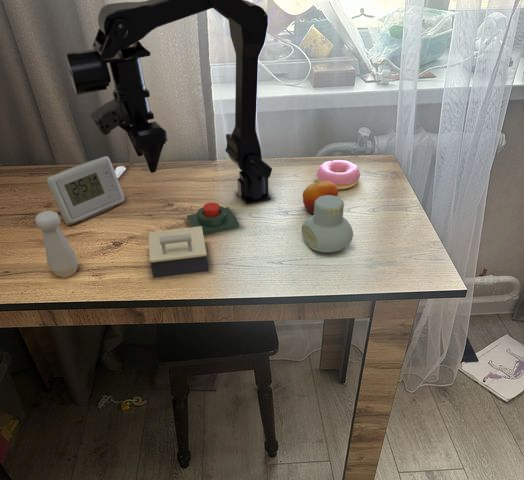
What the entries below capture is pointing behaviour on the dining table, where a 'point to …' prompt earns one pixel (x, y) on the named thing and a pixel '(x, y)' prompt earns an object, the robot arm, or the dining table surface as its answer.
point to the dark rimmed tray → (179, 266)
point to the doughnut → (339, 173)
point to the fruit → (318, 193)
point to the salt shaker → (56, 245)
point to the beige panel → (176, 244)
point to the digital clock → (86, 190)
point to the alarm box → (214, 221)
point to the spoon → (119, 171)
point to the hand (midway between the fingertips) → (146, 163)
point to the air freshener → (327, 226)
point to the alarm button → (211, 209)
